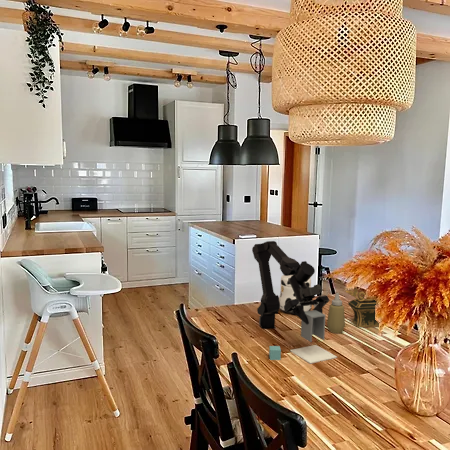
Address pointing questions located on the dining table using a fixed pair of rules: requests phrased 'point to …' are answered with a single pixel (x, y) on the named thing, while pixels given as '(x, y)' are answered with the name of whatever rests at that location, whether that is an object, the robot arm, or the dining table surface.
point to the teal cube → (274, 352)
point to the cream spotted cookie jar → (289, 293)
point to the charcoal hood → (313, 325)
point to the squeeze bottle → (336, 316)
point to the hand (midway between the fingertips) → (315, 322)
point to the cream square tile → (313, 354)
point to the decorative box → (363, 310)
